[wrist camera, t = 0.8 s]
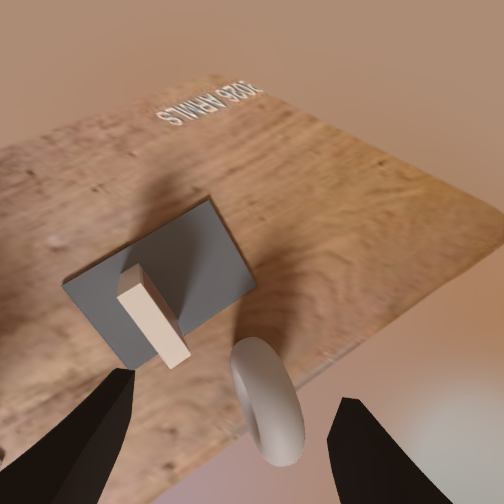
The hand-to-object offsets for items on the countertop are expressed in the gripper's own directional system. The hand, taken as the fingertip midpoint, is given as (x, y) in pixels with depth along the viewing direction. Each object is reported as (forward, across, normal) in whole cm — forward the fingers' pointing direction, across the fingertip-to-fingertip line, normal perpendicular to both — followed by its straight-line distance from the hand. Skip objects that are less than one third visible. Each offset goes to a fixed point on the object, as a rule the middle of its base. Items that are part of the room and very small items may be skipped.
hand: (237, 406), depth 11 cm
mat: (+16, +5, +4) cm, 17 cm away
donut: (+17, -3, +12) cm, 21 cm away
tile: (+15, +6, +5) cm, 17 cm away
